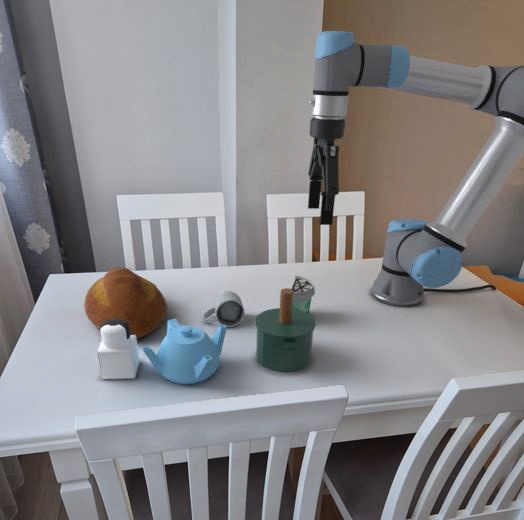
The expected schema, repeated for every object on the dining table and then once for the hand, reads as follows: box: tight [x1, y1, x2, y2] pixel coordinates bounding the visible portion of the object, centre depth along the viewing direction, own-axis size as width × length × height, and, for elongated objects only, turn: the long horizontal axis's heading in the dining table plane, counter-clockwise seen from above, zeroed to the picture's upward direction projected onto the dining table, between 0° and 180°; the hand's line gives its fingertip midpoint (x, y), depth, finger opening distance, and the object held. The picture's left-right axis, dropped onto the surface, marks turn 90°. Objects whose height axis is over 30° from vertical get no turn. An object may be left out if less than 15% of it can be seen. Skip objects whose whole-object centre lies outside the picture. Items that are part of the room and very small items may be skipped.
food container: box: [291, 275, 316, 315], centre depth 127 cm, size 12×6×10 cm, turn 168°
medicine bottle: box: [97, 319, 140, 380], centre depth 103 cm, size 7×7×12 cm
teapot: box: [141, 318, 228, 385], centre depth 104 cm, size 15×15×11 cm
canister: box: [255, 328, 314, 373], centre depth 110 cm, size 13×18×10 cm
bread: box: [83, 266, 168, 340], centre depth 126 cm, size 21×33×12 cm, turn 19°
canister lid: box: [254, 288, 316, 339], centre depth 105 cm, size 14×14×9 cm
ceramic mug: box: [202, 290, 246, 328], centre depth 126 cm, size 11×8×8 cm
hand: (319, 216), depth 113 cm, fingers open, 13 cm apart
